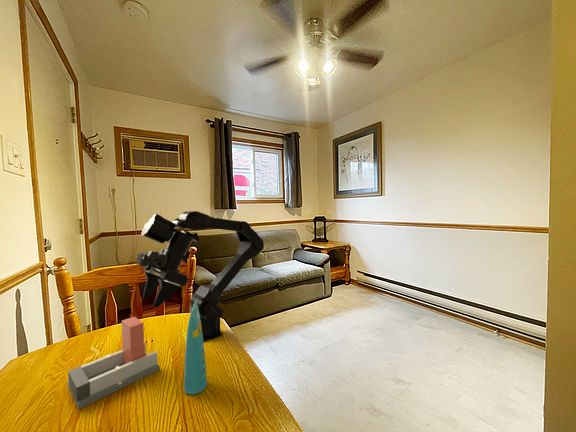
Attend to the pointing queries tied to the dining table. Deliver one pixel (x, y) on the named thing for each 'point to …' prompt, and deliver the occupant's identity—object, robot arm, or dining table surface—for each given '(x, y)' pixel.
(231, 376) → the dining table surface
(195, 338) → the tube
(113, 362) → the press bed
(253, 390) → the dining table surface
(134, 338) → the plug
